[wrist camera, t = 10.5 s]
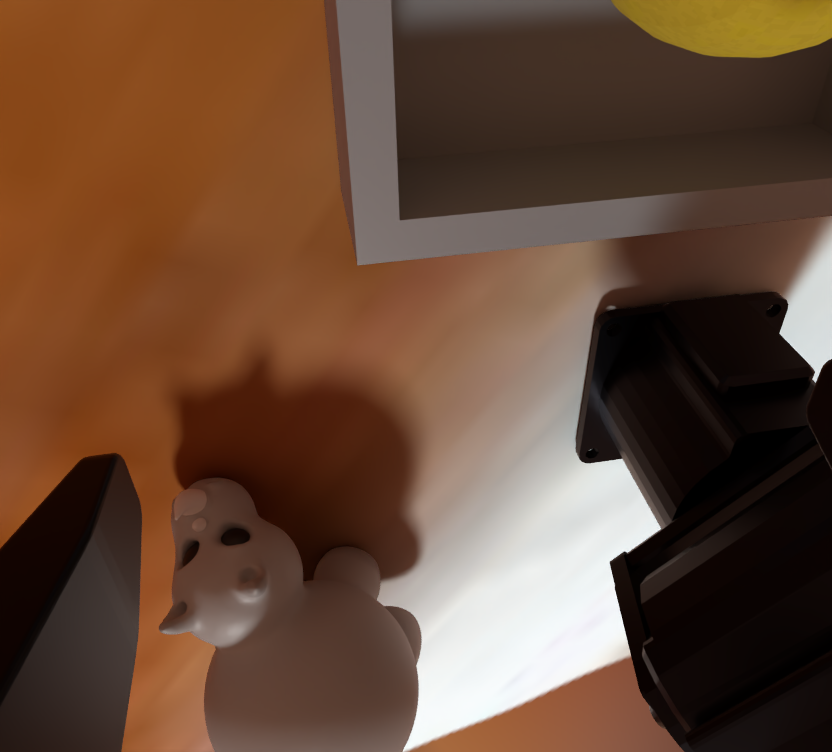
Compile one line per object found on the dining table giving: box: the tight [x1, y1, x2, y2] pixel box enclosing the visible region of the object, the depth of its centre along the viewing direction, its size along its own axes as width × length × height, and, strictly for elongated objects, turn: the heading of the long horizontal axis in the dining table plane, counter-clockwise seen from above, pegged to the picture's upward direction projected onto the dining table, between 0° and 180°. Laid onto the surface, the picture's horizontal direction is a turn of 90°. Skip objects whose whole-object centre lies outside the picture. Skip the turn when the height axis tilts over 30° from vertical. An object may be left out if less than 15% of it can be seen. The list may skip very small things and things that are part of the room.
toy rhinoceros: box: [159, 478, 421, 752], centre depth 25 cm, size 7×12×8 cm, turn 24°
